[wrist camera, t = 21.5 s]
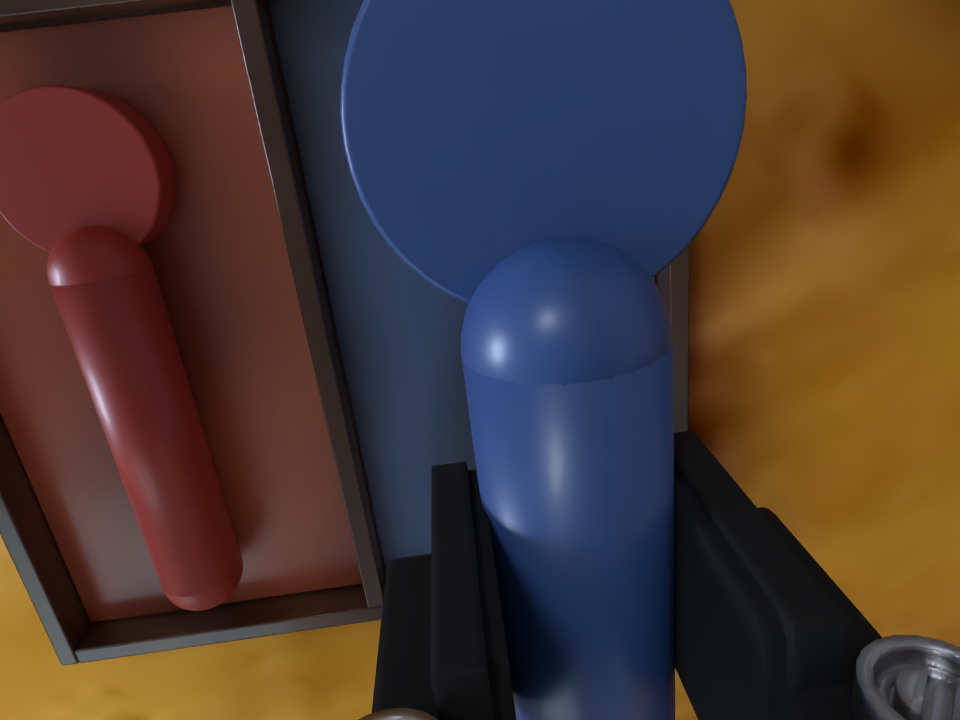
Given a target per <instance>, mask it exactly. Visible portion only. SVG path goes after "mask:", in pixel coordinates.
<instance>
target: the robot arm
mask: <svg viewBox="0 0 960 720" xmlns="http://www.w3.org/2000/svg"><path fill="white" fill-rule="evenodd" d="M674 608H675V668H676V670H677V673H678V675H679V677H680V679H681V682H682V684H683V686H684V688H685V691H686V693H687V695H688V697H689V700H690V702H691V704H692V706H693V709H694V711H695V713H696V715H697V718H698V720H960V647H957V646H955V645H952V644H949V643H947V642H944V641H941V640H936V639H932V638H927V637H922V636H917V635H892V636H888V637H884V638H882V637H881V636H880V634H879V633H878V632H877V631H876V630H875V629H874V628H873V626H872V625H871V624H870V623H869V622H868V621H867V619H866V618H865V617H864V616H863V615H862V614H861V613H860V611H859V610H858V609H857V608H856V607H855V606H854V605H853V603H852V602H851V601H850V600H849V599H848V598H847V596H846V595H845V594H844V593H843V592H842V591H841V590H840V588H839V587H838V586H837V585H836V584H835V583H834V582H833V580H832V579H831V578H830V577H829V576H828V575H827V573H826V572H825V571H824V570H823V569H822V568H821V567H820V565H819V564H818V563H817V562H816V561H815V560H814V559H813V557H812V556H811V555H810V554H809V553H808V552H807V550H806V549H805V548H804V547H803V546H802V545H801V544H800V542H799V541H798V540H797V539H796V538H795V537H794V535H793V534H792V533H791V532H790V531H789V530H788V529H787V527H786V526H785V525H784V524H783V523H782V522H781V521H780V519H779V518H778V517H777V516H776V515H775V514H774V513H773V512H772V511H770V510H769V509H767V508H763V507H761V508H757V507H756V506H755V505H754V504H753V502H752V501H751V500H750V499H749V498H748V496H747V495H746V494H745V493H744V492H743V491H742V489H741V488H740V487H739V486H738V485H737V483H736V482H735V481H734V480H733V479H732V477H731V476H730V475H729V474H728V473H727V471H726V470H725V469H724V468H723V467H722V465H721V464H720V463H719V462H718V461H717V459H716V458H715V457H714V456H713V455H712V453H711V452H710V451H709V450H708V449H707V448H706V446H705V445H704V444H703V443H702V442H701V440H700V439H699V438H698V437H697V436H696V434H695V433H693V432H692V431H684V432H677V433H674ZM359 720H516V713H515V705H514V697H513V689H512V682H511V674H510V667H509V659H508V652H507V645H506V638H505V631H504V624H503V617H502V610H501V603H500V595H499V588H498V581H497V574H496V567H495V560H494V553H493V546H492V539H491V532H490V525H489V518H488V515H487V514H486V512H485V510H484V508H483V506H482V503H481V499H480V491H479V484H478V477H477V469H475V470H468V467H467V461H464V462H457V463H449V464H442V465H435V466H432V469H431V554H424V555H417V556H410V557H403V558H395V559H390V560H389V561H388V564H387V570H386V580H385V589H384V599H383V609H382V619H381V628H380V638H379V648H378V657H377V667H376V677H375V687H374V696H373V706H372V714H369V715H366V716H364V717H362V718H361V719H359Z"/></svg>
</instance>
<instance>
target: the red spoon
mask: <svg viewBox="0 0 960 720" xmlns="http://www.w3.org/2000/svg"><path fill="white" fill-rule="evenodd" d="M175 198H176V175H175V170H174V166H173V162H172V159H171V156H170V154H169V152H168V149H167V147H166V145H165V143H164V142H163V140H162V138H161V137H160V135H159V134H158V132H157V131H156V130H155V128H154V127H153V126H152V125H151V123H150V122H149V121H148V120H147V119H146V118H145V117H144V116H143V115H142V114H140V113H139V112H138V111H137V110H135V109H134V108H133V107H132V106H130V105H129V104H127V103H125V102H124V101H122V100H120V99H118V98H116V97H114V96H112V95H110V94H107V93H104V92H102V91H99V90H94V89H90V88H82V87H70V86H59V85H46V86H38V87H33V88H29V89H26V90H24V91H21V92H19V93H17V94H15V95H13V96H12V97H10V98H9V99H7V100H6V101H5V102H4V103H2V104H1V105H0V213H1V215H2V216H3V217H4V219H5V220H6V221H7V222H8V223H9V224H10V225H11V226H12V227H13V229H14V230H16V231H17V232H18V233H19V234H20V235H21V236H23V237H24V238H25V239H27V240H28V241H29V242H31V243H32V244H34V245H36V246H37V247H39V248H41V249H43V250H45V251H47V252H49V253H50V255H49V258H48V262H47V277H48V281H49V285H50V287H51V290H52V293H53V296H54V298H55V301H56V304H57V306H58V309H59V312H60V314H61V317H62V320H63V322H64V325H65V328H66V331H67V333H68V336H69V339H70V341H71V344H72V347H73V349H74V352H75V355H76V358H77V360H78V363H79V366H80V368H81V371H82V374H83V376H84V379H85V382H86V384H87V387H88V390H89V393H90V395H91V398H92V401H93V403H94V406H95V409H96V411H97V414H98V417H99V419H100V422H101V425H102V428H103V430H104V433H105V436H106V438H107V441H108V444H109V446H110V449H111V452H112V454H113V457H114V460H115V463H116V465H117V468H118V471H119V473H120V476H121V479H122V481H123V484H124V487H125V490H126V492H127V495H128V498H129V500H130V503H131V506H132V508H133V511H134V514H135V516H136V519H137V522H138V525H139V527H140V530H141V533H142V535H143V538H144V541H145V543H146V546H147V549H148V551H149V554H150V557H151V560H152V562H153V565H154V568H155V570H156V573H157V576H158V578H159V581H160V584H161V586H162V589H163V591H164V593H165V595H166V596H167V597H168V599H169V600H170V601H171V602H172V603H174V604H175V605H177V606H179V607H180V608H183V609H186V610H191V611H201V610H207V609H211V608H214V607H216V606H218V605H220V604H221V603H223V602H224V601H225V600H227V599H228V598H229V597H230V596H231V595H232V594H233V592H234V591H235V590H236V588H237V586H238V585H239V583H240V580H241V577H242V573H243V559H242V554H241V551H240V548H239V545H238V541H237V538H236V535H235V532H234V528H233V525H232V522H231V519H230V515H229V512H228V509H227V505H226V502H225V499H224V496H223V492H222V489H221V486H220V483H219V479H218V476H217V473H216V470H215V466H214V463H213V460H212V457H211V453H210V450H209V447H208V444H207V440H206V437H205V434H204V430H203V427H202V424H201V421H200V417H199V414H198V411H197V408H196V404H195V401H194V398H193V395H192V391H191V388H190V385H189V382H188V378H187V375H186V372H185V369H184V365H183V362H182V359H181V356H180V352H179V349H178V346H177V342H176V339H175V336H174V333H173V329H172V326H171V323H170V320H169V316H168V313H167V310H166V307H165V303H164V300H163V297H162V294H161V290H160V287H159V284H158V281H157V277H156V274H155V271H154V267H153V264H152V262H151V259H150V257H149V255H148V253H147V252H146V250H145V249H144V248H143V245H145V244H147V243H148V242H150V241H151V240H152V239H154V238H155V237H156V236H157V235H158V234H159V233H160V232H161V231H162V229H163V228H164V226H165V225H166V224H167V222H168V220H169V218H170V216H171V213H172V211H173V208H174V204H175Z"/></svg>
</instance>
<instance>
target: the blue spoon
mask: <svg viewBox="0 0 960 720" xmlns="http://www.w3.org/2000/svg"><path fill="white" fill-rule="evenodd" d="M746 98H747V93H746V66H745V59H744V52H743V46H742V39H741V36H740V32H739V29H738V25H737V22H736V18H735V14H734V11H733V9H732V7H731V4H730V2H729V0H364V1H363V3H362V6H361V8H360V11H359V13H358V16H357V18H356V20H355V23H354V25H353V28H352V31H351V35H350V39H349V43H348V47H347V50H346V54H345V58H344V66H343V73H342V81H341V104H340V118H341V127H342V135H343V144H344V149H345V153H346V157H347V161H348V165H349V169H350V173H351V176H352V179H353V181H354V184H355V187H356V189H357V192H358V194H359V197H360V200H361V202H362V203H363V205H364V207H365V209H366V211H367V213H368V215H369V217H370V218H371V220H372V222H373V224H374V225H375V227H376V228H377V230H378V231H379V232H380V234H381V235H382V237H383V238H384V239H385V241H386V242H387V244H388V245H389V246H390V247H391V248H392V249H393V250H394V252H395V253H396V254H397V255H398V256H399V257H400V258H401V259H402V260H403V261H404V262H405V264H407V265H408V266H409V267H410V268H411V269H413V270H414V271H415V272H416V273H417V274H418V275H420V276H421V277H422V278H423V279H424V280H426V281H427V282H429V283H430V284H432V285H434V286H435V287H437V288H438V289H440V290H441V291H443V292H444V293H446V294H448V295H450V296H452V297H455V298H457V299H459V300H461V301H463V302H465V303H467V304H468V305H467V308H466V310H465V315H464V321H463V326H462V332H461V357H462V365H463V372H464V380H465V387H466V394H467V402H468V409H469V417H470V424H471V432H472V439H473V447H474V454H475V462H476V469H477V477H478V484H479V491H480V499H481V503H482V506H483V508H484V510H485V512H486V514H487V515H488V518H489V525H490V532H491V539H492V546H493V553H494V560H495V567H496V574H497V581H498V588H499V595H500V603H501V610H502V617H503V624H504V631H505V638H506V645H507V652H508V659H509V667H510V674H511V682H512V689H513V697H514V705H515V713H516V720H675V608H674V430H673V337H672V329H671V321H670V315H669V312H668V309H667V306H666V304H665V301H664V298H663V296H662V294H661V292H660V291H659V289H658V287H657V286H656V284H655V282H654V281H653V279H652V278H653V277H654V276H655V275H657V274H658V273H659V272H660V271H662V270H663V269H664V268H665V267H667V266H668V265H669V264H670V263H671V262H672V261H673V260H674V259H675V258H676V257H677V256H678V255H679V254H680V253H681V252H682V251H683V250H684V249H685V248H686V247H687V246H688V245H689V244H690V242H691V241H692V240H693V239H694V237H695V236H696V235H697V234H698V232H699V231H700V230H701V228H702V227H703V226H704V224H705V223H706V221H707V220H708V218H709V216H710V215H711V213H712V211H713V210H714V208H715V207H716V205H717V203H718V202H719V199H720V197H721V195H722V193H723V191H724V189H725V187H726V184H727V182H728V180H729V178H730V175H731V172H732V169H733V166H734V163H735V160H736V157H737V154H738V151H739V146H740V141H741V137H742V132H743V127H744V119H745V109H746Z"/></svg>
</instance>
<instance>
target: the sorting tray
mask: <svg viewBox="0 0 960 720" xmlns="http://www.w3.org/2000/svg"><path fill="white" fill-rule="evenodd" d="M363 1H364V0H0V105H1V104H2V103H4V102H5V101H6V100H7V99H9V98H10V97H12V96H13V95H15V94H17V93H19V92H21V91H24V90H26V89H29V88H33V87H38V86H46V85H59V86H70V87H82V88H90V89H94V90H99V91H102V92H104V93H107V94H110V95H112V96H114V97H116V98H118V99H120V100H122V101H124V102H125V103H127V104H129V105H130V106H132V107H133V108H134V109H135V110H137V111H138V112H139V113H140V114H142V115H143V116H144V117H145V118H146V119H147V120H148V121H149V122H150V123H151V125H152V126H153V127H154V128H155V130H156V131H157V132H158V134H159V135H160V137H161V138H162V140H163V142H164V143H165V145H166V147H167V149H168V152H169V154H170V156H171V159H172V162H173V166H174V170H175V175H176V198H175V204H174V208H173V211H172V213H171V216H170V218H169V220H168V222H167V224H166V225H165V226H164V228H163V229H162V231H161V232H160V233H159V234H158V235H157V236H156V237H155V238H154V239H152V240H151V241H150V242H148V243H147V244H145V245H143V248H144V249H145V250H146V252H147V253H148V255H149V257H150V259H151V262H152V264H153V267H154V271H155V274H156V277H157V281H158V284H159V287H160V290H161V294H162V297H163V300H164V303H165V307H166V310H167V313H168V316H169V320H170V323H171V326H172V329H173V333H174V336H175V339H176V342H177V346H178V349H179V352H180V356H181V359H182V362H183V365H184V369H185V372H186V375H187V378H188V382H189V385H190V388H191V391H192V395H193V398H194V401H195V404H196V408H197V411H198V414H199V417H200V421H201V424H202V427H203V430H204V434H205V437H206V440H207V444H208V447H209V450H210V453H211V457H212V460H213V463H214V466H215V470H216V473H217V476H218V479H219V483H220V486H221V489H222V492H223V496H224V499H225V502H226V505H227V509H228V512H229V515H230V519H231V522H232V525H233V528H234V532H235V535H236V538H237V541H238V545H239V548H240V551H241V554H242V559H243V573H242V577H241V580H240V583H239V585H238V586H237V588H236V590H235V591H234V592H233V594H232V595H231V596H230V597H229V598H228V599H227V600H225V601H224V602H223V603H221V604H220V605H218V606H216V607H214V608H211V609H207V610H201V611H191V610H186V609H183V608H180V607H179V606H177V605H175V604H174V603H172V602H171V601H170V600H169V599H168V597H167V596H166V595H165V593H164V591H163V589H162V586H161V584H160V581H159V578H158V576H157V573H156V570H155V568H154V565H153V562H152V560H151V557H150V554H149V551H148V549H147V546H146V543H145V541H144V538H143V535H142V533H141V530H140V527H139V525H138V522H137V519H136V516H135V514H134V511H133V508H132V506H131V503H130V500H129V498H128V495H127V492H126V490H125V487H124V484H123V481H122V479H121V476H120V473H119V471H118V468H117V465H116V463H115V460H114V457H113V454H112V452H111V449H110V446H109V444H108V441H107V438H106V436H105V433H104V430H103V428H102V425H101V422H100V419H99V417H98V414H97V411H96V409H95V406H94V403H93V401H92V398H91V395H90V393H89V390H88V387H87V384H86V382H85V379H84V376H83V374H82V371H81V368H80V366H79V363H78V360H77V358H76V355H75V352H74V349H73V347H72V344H71V341H70V339H69V336H68V333H67V331H66V328H65V325H64V322H63V320H62V317H61V314H60V312H59V309H58V306H57V304H56V301H55V298H54V296H53V293H52V290H51V287H50V285H49V281H48V277H47V262H48V258H49V255H50V253H49V252H47V251H45V250H43V249H41V248H39V247H37V246H36V245H34V244H32V243H31V242H29V241H28V240H27V239H25V238H24V237H23V236H21V235H20V234H19V233H18V232H17V231H16V230H14V229H13V227H12V226H11V225H10V224H9V223H8V222H7V221H6V220H5V219H4V217H3V216H2V215H1V213H0V534H1V536H2V539H3V541H4V543H5V545H6V547H7V549H8V551H9V554H10V556H11V558H12V560H13V562H14V564H15V566H16V569H17V571H18V573H19V575H20V577H21V579H22V581H23V583H24V586H25V588H26V590H27V592H28V594H29V596H30V598H31V601H32V603H33V605H34V607H35V609H36V611H37V613H38V615H39V618H40V620H41V622H42V624H43V626H44V628H45V630H46V633H47V635H48V637H49V639H50V641H51V643H52V645H53V647H54V650H55V652H56V654H57V656H58V658H59V660H60V662H61V665H70V664H77V663H79V662H80V663H84V662H91V661H98V660H105V659H112V658H119V657H126V656H132V655H139V654H146V653H153V652H160V651H167V650H174V649H181V648H187V647H194V646H201V645H208V644H215V643H222V642H229V641H236V640H243V639H249V638H256V637H263V636H270V635H277V634H284V633H291V632H298V631H305V630H311V629H318V628H325V627H332V626H339V625H346V624H353V623H360V622H367V621H373V620H380V619H382V609H383V599H384V589H385V580H386V570H387V564H388V561H389V560H390V559H395V558H403V557H410V556H417V555H424V554H431V469H432V466H435V465H442V464H449V463H457V462H464V461H467V467H468V470H475V469H476V462H475V454H474V447H473V439H472V432H471V424H470V417H469V409H468V402H467V394H466V387H465V380H464V372H463V365H462V357H461V332H462V326H463V321H464V315H465V310H466V308H467V305H468V304H467V303H465V302H463V301H461V300H459V299H457V298H455V297H452V296H450V295H448V294H446V293H444V292H443V291H441V290H440V289H438V288H437V287H435V286H434V285H432V284H430V283H429V282H427V281H426V280H424V279H423V278H422V277H421V276H420V275H418V274H417V273H416V272H415V271H414V270H413V269H411V268H410V267H409V266H408V265H407V264H405V262H404V261H403V260H402V259H401V258H400V257H399V256H398V255H397V254H396V253H395V252H394V250H393V249H392V248H391V247H390V246H389V245H388V244H387V242H386V241H385V239H384V238H383V237H382V235H381V234H380V232H379V231H378V230H377V228H376V227H375V225H374V224H373V222H372V220H371V218H370V217H369V215H368V213H367V211H366V209H365V207H364V205H363V203H362V202H361V200H360V197H359V194H358V192H357V189H356V187H355V184H354V181H353V179H352V176H351V173H350V169H349V165H348V161H347V157H346V153H345V149H344V144H343V135H342V127H341V118H340V104H341V81H342V73H343V66H344V58H345V54H346V50H347V47H348V43H349V39H350V35H351V31H352V28H353V25H354V23H355V20H356V18H357V16H358V13H359V11H360V8H361V6H362V3H363ZM652 279H653V281H654V282H655V284H656V286H657V287H658V289H659V291H660V292H661V294H662V296H663V298H664V301H665V304H666V306H667V309H668V312H669V315H670V321H671V329H672V337H673V430H674V433H677V432H684V431H688V386H689V245H688V246H687V247H686V248H685V249H684V250H683V251H682V252H681V253H680V254H679V255H678V256H677V257H676V258H675V259H674V260H673V261H672V262H671V263H670V264H669V265H668V266H667V267H665V268H664V269H663V270H662V271H660V272H659V273H658V274H657V275H655V276H654V277H653V278H652Z"/></svg>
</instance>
